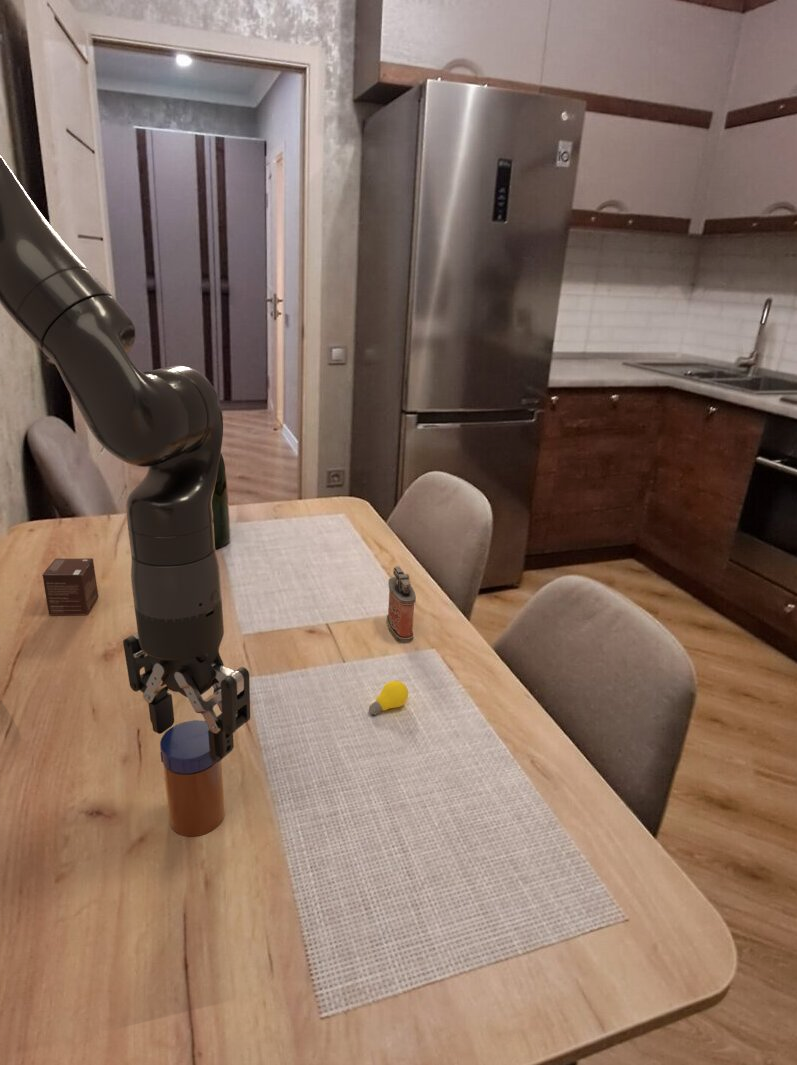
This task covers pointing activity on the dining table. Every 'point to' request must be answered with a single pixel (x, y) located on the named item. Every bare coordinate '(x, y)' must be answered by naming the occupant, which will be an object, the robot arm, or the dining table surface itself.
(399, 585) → the lighter
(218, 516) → the dark green wine bottle
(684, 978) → the dining table surface
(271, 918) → the dining table surface
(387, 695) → the light bulb
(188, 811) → the jam jar
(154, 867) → the dining table surface
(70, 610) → the box
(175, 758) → the jam lid
